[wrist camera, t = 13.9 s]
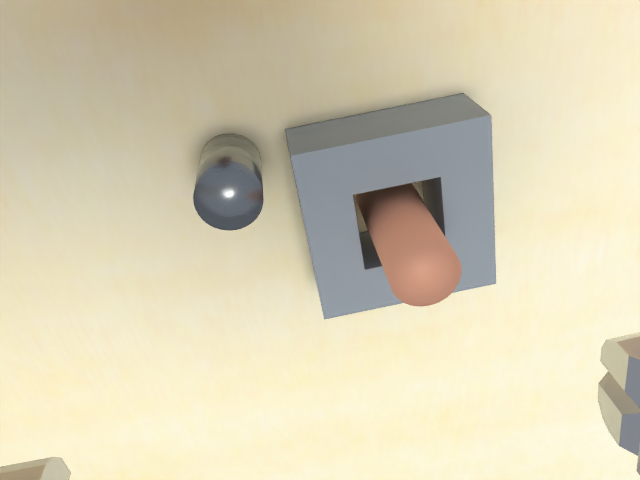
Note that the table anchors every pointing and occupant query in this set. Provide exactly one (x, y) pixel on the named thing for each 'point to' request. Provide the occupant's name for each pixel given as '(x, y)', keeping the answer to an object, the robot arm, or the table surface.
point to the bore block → (387, 171)
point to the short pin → (229, 183)
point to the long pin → (410, 245)
